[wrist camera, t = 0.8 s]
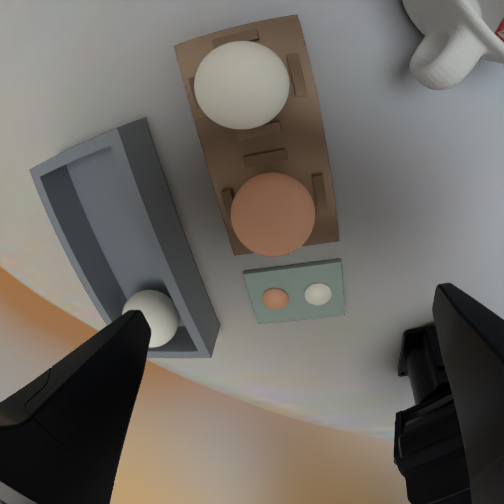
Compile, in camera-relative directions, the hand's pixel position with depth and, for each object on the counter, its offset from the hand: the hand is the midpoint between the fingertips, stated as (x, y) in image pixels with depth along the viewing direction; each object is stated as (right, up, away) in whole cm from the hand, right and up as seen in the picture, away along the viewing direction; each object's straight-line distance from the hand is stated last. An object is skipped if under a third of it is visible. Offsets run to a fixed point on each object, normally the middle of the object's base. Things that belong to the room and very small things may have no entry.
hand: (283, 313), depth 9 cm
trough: (-10, +2, +14) cm, 17 cm away
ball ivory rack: (-1, +11, +7) cm, 13 cm away
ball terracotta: (+1, +5, +10) cm, 11 cm away
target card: (+2, -1, +15) cm, 15 cm away
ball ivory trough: (-8, -2, +16) cm, 18 cm away
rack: (0, +8, +9) cm, 12 cm away
